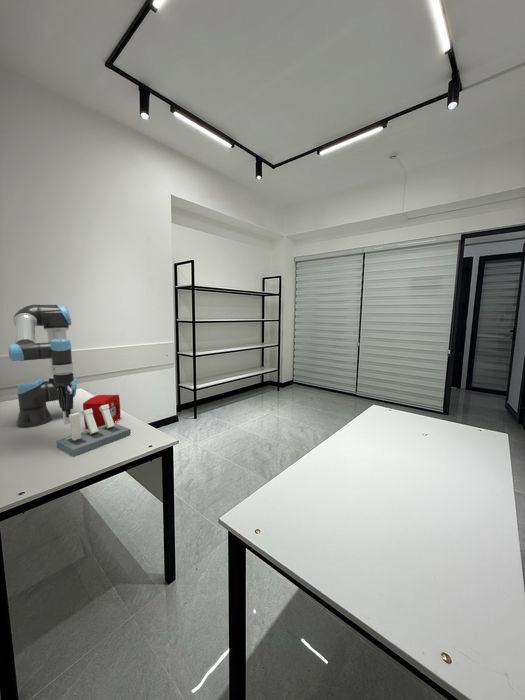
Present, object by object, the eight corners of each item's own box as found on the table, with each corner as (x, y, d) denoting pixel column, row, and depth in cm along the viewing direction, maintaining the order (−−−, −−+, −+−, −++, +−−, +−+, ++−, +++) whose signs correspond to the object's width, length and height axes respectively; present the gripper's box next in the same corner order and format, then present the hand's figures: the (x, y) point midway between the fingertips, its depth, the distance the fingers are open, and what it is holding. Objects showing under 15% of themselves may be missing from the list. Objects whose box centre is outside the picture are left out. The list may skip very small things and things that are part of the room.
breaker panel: (56, 446, 131) (56, 440, 130) (113, 427, 152) (112, 422, 152) (73, 456, 122) (73, 449, 122) (130, 435, 144) (130, 429, 143)
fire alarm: (105, 429, 150) (103, 401, 148) (84, 429, 150) (82, 401, 148) (121, 418, 166) (119, 393, 164) (102, 418, 166) (100, 393, 164)
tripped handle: (71, 439, 129) (68, 414, 128) (79, 436, 132) (77, 412, 131) (73, 440, 128) (71, 415, 126) (82, 438, 131) (80, 413, 129)
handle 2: (106, 429, 143) (98, 407, 145) (113, 426, 146) (106, 405, 148) (108, 427, 141) (100, 405, 143) (115, 425, 144) (108, 404, 146)
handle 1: (89, 434, 136) (81, 412, 138) (97, 432, 139) (89, 409, 141) (91, 433, 135) (83, 410, 137) (99, 430, 138) (91, 408, 140)
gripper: (47, 373, 131) (52, 423, 134) (60, 376, 124) (65, 429, 127) (65, 370, 137) (70, 418, 140) (79, 373, 130) (83, 423, 133)
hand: (67, 423), depth 133 cm, fingers closed
